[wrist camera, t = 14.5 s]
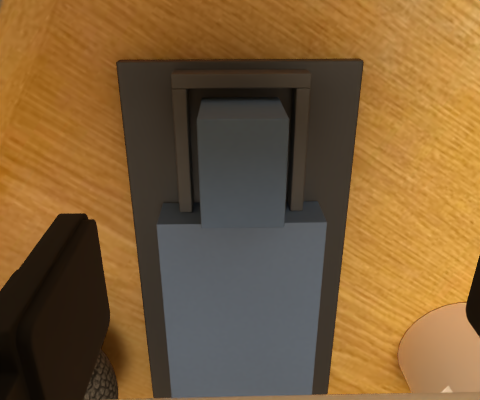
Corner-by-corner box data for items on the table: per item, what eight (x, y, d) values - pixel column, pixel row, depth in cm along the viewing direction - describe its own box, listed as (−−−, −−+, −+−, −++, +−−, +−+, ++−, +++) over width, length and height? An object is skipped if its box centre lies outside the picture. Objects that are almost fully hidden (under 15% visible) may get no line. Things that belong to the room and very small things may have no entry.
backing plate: (118, 59, 26) (102, 70, 23) (360, 58, 26) (380, 68, 23) (154, 390, 37) (147, 431, 34) (325, 387, 37) (335, 427, 34)
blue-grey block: (201, 97, 26) (196, 119, 22) (279, 96, 26) (289, 118, 22) (205, 191, 29) (201, 229, 24) (275, 191, 29) (284, 228, 24)
